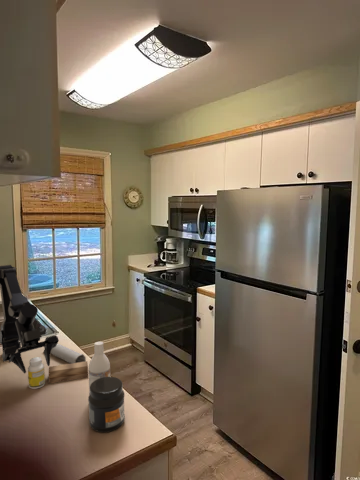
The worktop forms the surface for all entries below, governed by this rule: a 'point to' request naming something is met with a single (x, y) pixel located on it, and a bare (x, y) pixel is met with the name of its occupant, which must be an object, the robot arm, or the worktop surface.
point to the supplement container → (106, 404)
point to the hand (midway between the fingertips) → (37, 369)
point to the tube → (67, 354)
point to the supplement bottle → (36, 373)
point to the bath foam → (98, 364)
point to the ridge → (68, 372)
